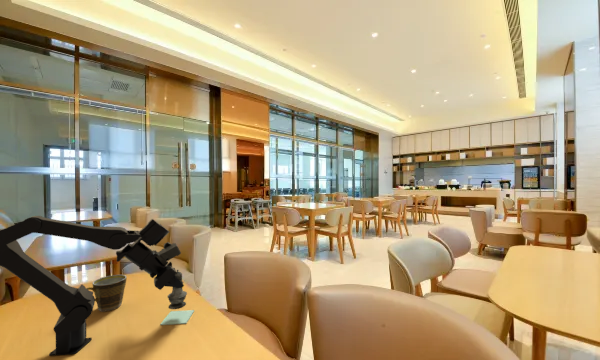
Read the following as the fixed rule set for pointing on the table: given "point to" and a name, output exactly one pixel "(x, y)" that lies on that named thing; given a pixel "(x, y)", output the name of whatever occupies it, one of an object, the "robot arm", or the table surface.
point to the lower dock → (177, 317)
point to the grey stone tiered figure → (177, 295)
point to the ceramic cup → (109, 292)
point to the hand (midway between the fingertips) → (181, 284)
